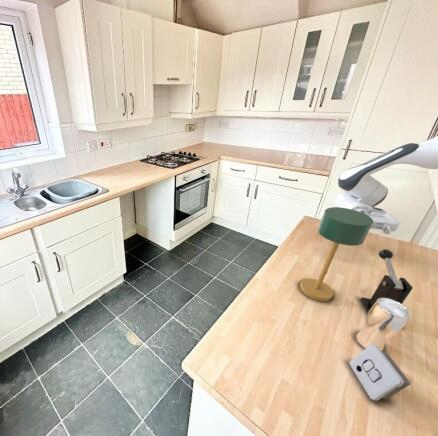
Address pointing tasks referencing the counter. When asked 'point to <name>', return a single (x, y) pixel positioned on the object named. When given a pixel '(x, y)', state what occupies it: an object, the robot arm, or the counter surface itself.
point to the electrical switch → (378, 373)
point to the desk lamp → (336, 244)
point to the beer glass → (383, 322)
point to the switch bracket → (387, 292)
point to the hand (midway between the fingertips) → (372, 230)
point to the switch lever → (391, 268)
